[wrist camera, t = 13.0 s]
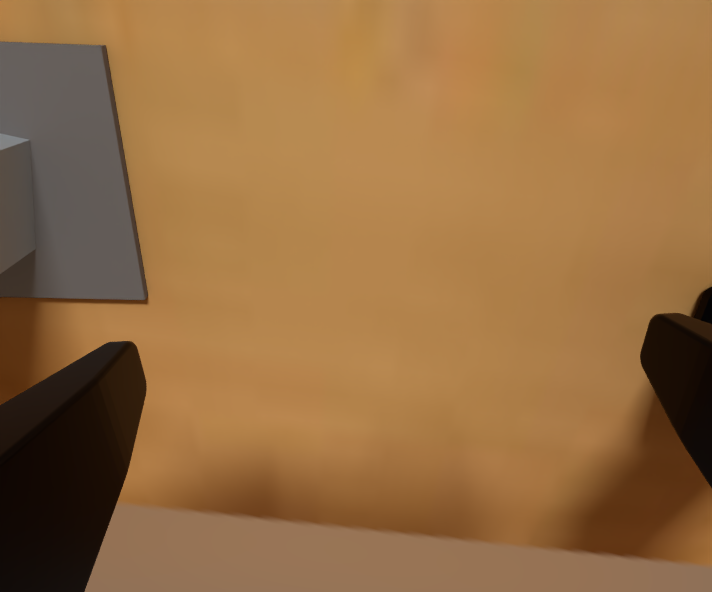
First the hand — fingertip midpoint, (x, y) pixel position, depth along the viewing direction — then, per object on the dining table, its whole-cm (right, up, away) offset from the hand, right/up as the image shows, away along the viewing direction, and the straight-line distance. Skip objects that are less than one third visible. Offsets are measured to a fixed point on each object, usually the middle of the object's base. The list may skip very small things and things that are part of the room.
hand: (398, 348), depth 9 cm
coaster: (-16, +6, +11) cm, 20 cm away
